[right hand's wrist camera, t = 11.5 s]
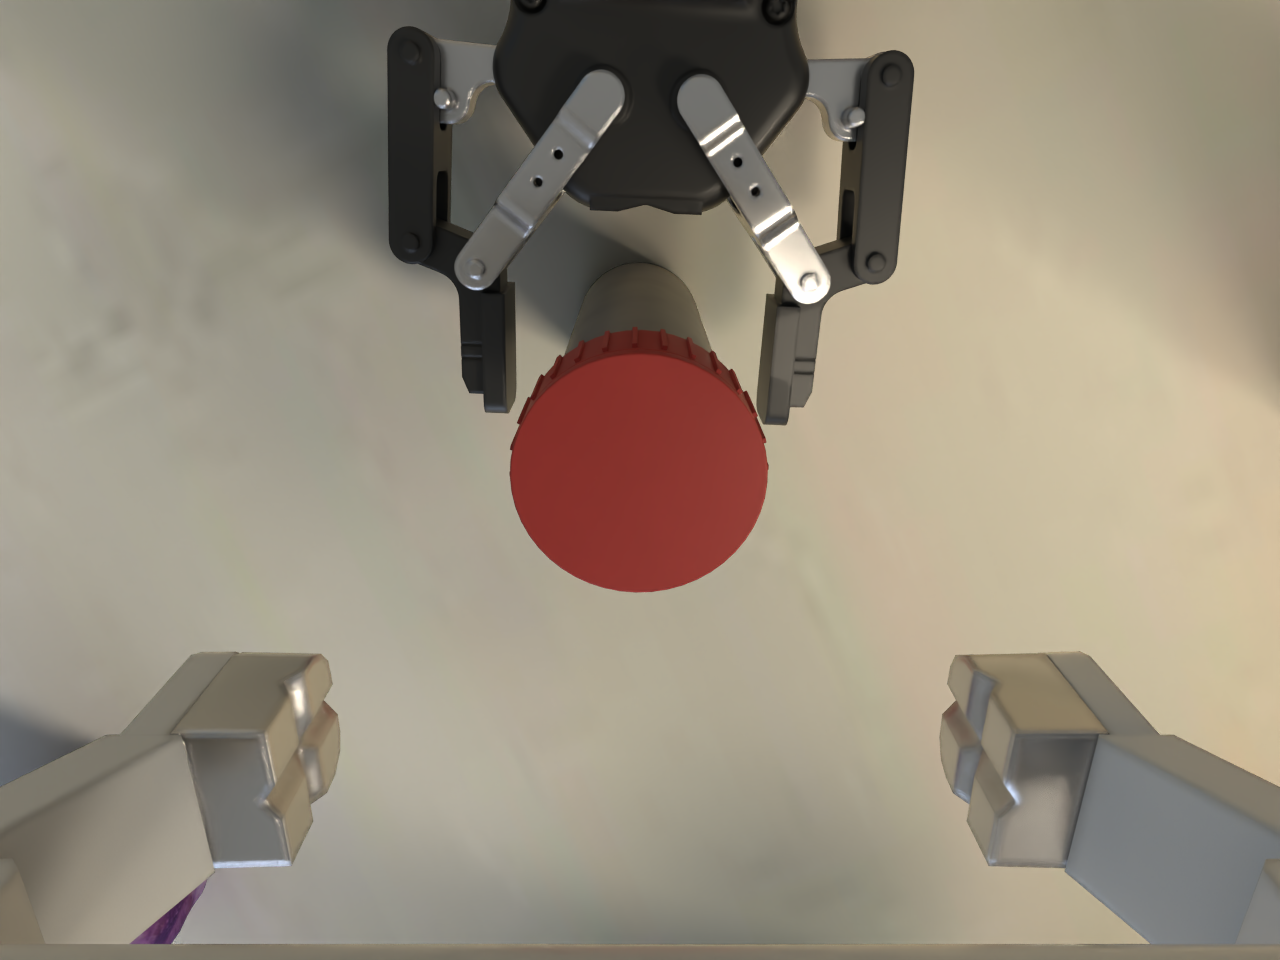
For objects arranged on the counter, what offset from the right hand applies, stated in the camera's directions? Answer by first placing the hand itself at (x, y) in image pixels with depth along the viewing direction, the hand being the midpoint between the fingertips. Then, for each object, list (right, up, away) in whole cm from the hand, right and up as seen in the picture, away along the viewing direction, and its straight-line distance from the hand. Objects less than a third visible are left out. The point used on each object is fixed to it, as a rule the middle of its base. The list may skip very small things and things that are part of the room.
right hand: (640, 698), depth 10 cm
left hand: (0, +5, +16) cm, 17 cm away
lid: (0, +3, +7) cm, 8 cm away
